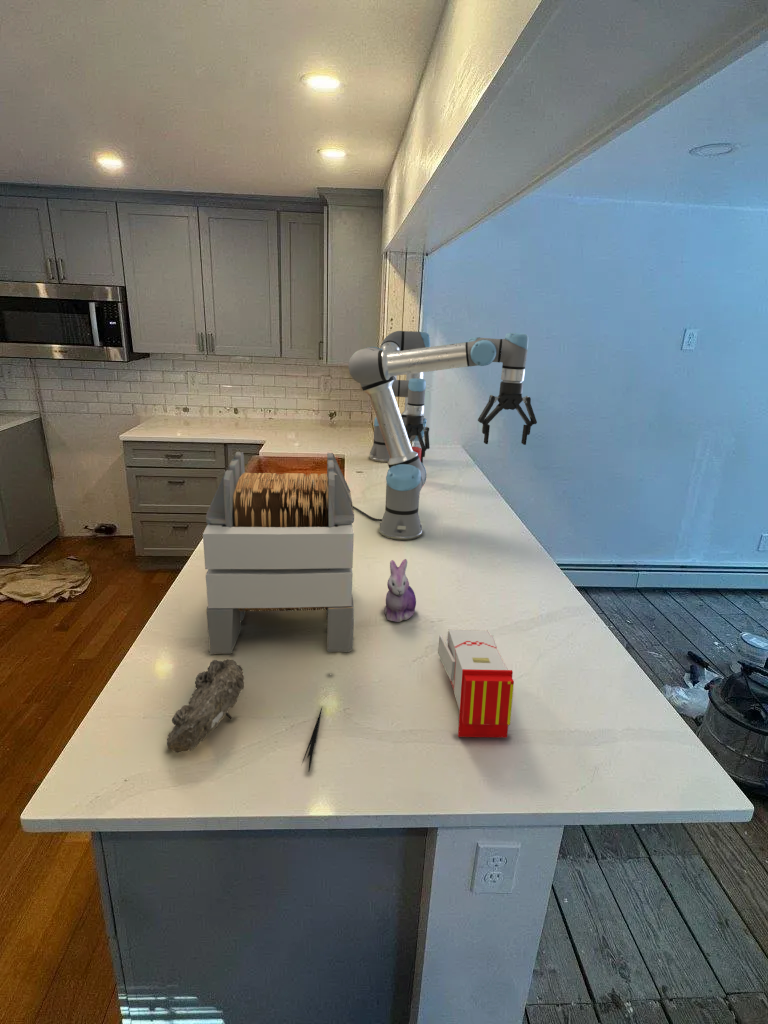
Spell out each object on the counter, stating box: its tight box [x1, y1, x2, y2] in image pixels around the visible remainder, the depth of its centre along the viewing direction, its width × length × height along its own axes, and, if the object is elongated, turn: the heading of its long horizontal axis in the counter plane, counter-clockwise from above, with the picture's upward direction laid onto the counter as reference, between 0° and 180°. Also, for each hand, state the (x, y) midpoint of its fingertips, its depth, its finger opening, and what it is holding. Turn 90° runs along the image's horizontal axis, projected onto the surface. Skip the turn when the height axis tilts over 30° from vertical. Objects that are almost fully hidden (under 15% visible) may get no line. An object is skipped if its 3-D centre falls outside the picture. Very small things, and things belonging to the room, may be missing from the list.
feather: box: [301, 673, 332, 771], centre depth 108 cm, size 2×28×2 cm
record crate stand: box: [202, 451, 355, 655], centre depth 137 cm, size 34×33×41 cm
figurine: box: [384, 558, 417, 623], centre depth 145 cm, size 9×10×15 cm
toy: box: [437, 628, 515, 738], centre depth 117 cm, size 12×13×30 cm
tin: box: [411, 446, 422, 461], centre depth 258 cm, size 8×8×11 cm
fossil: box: [166, 658, 245, 754], centre depth 106 cm, size 22×10×15 cm
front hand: (504, 443), depth 197 cm, fingers open, 13 cm apart
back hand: (412, 464), depth 259 cm, fingers closed on tin, 8 cm apart
